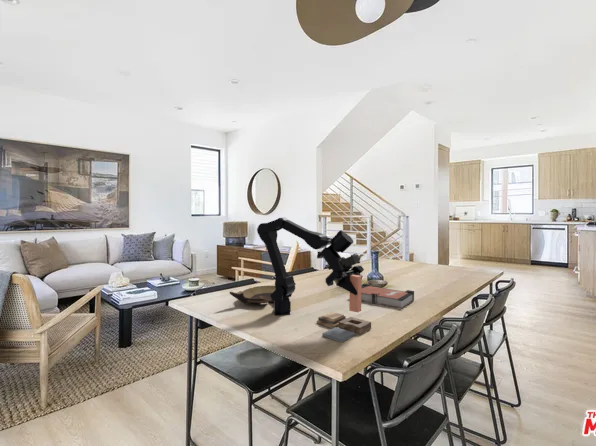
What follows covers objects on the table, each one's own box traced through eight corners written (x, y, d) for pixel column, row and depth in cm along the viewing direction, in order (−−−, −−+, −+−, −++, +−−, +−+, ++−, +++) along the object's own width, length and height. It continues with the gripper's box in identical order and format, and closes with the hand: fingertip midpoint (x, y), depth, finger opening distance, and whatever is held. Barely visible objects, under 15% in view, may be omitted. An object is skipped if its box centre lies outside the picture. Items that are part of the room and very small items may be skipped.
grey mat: (322, 336, 115) (322, 333, 115) (335, 329, 121) (335, 327, 121) (341, 342, 110) (341, 339, 110) (354, 335, 116) (354, 332, 116)
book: (348, 299, 163) (349, 289, 163) (364, 292, 177) (364, 283, 177) (401, 309, 147) (401, 298, 147) (413, 301, 161) (414, 291, 161)
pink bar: (349, 310, 122) (349, 275, 122) (352, 309, 124) (353, 274, 124) (357, 312, 120) (358, 276, 120) (361, 310, 122) (361, 275, 121)
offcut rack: (316, 323, 128) (316, 315, 128) (331, 317, 136) (331, 309, 135) (358, 335, 116) (358, 327, 116) (372, 328, 123) (372, 320, 123)
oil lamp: (296, 304, 153) (296, 288, 153) (231, 312, 142) (231, 294, 141) (280, 293, 174) (280, 278, 173) (222, 298, 162) (222, 283, 162)
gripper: (332, 249, 117) (359, 285, 110) (359, 244, 131) (385, 276, 124) (314, 268, 122) (339, 303, 115) (342, 262, 136) (366, 293, 130)
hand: (358, 293), depth 121 cm, fingers closed on pink bar, 2 cm apart
